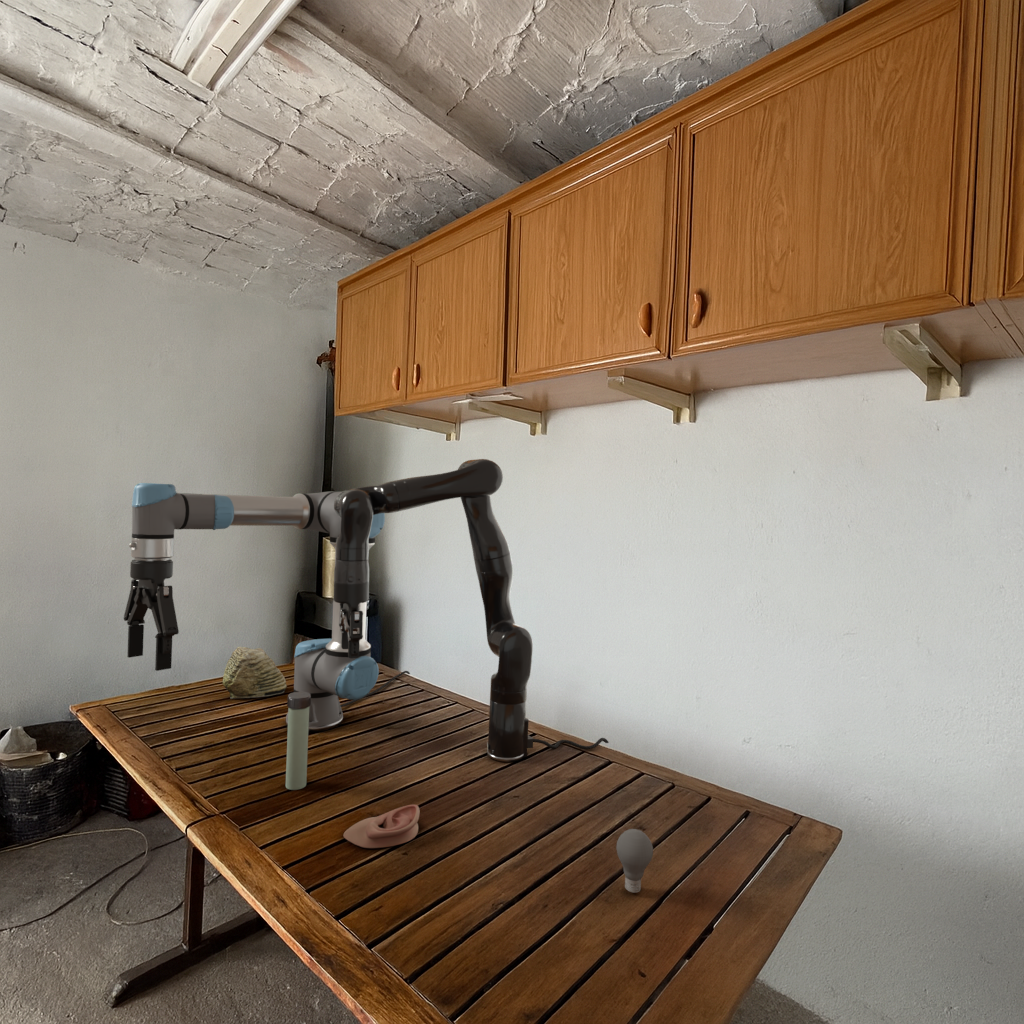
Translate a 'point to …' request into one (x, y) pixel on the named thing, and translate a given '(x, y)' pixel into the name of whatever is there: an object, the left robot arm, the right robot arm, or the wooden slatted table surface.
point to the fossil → (252, 674)
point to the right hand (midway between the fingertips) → (349, 653)
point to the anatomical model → (385, 828)
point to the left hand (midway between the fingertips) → (148, 662)
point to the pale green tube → (297, 748)
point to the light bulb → (634, 857)
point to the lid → (299, 700)
